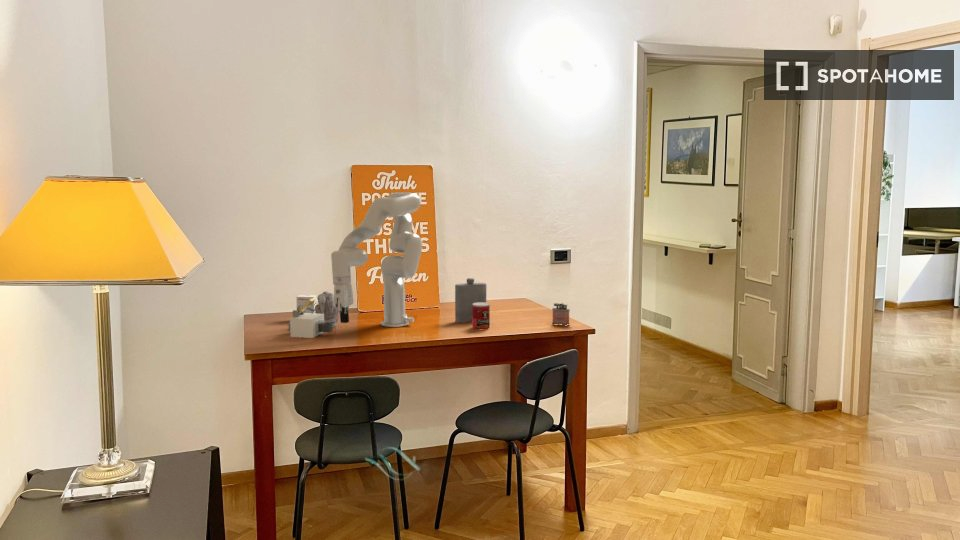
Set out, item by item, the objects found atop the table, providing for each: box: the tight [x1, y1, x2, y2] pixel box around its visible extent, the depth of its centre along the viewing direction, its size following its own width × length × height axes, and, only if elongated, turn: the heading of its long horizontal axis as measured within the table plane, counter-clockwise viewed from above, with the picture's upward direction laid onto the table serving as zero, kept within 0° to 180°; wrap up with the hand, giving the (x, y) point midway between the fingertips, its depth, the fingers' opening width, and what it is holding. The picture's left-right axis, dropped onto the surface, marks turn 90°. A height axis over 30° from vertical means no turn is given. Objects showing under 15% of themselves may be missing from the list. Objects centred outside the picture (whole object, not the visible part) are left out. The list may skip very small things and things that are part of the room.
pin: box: [287, 320, 333, 335], centre depth 319 cm, size 19×6×5 cm, turn 78°
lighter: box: [551, 302, 571, 325], centre depth 338 cm, size 8×3×10 cm, turn 65°
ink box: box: [296, 294, 318, 313], centre depth 348 cm, size 9×5×12 cm, turn 84°
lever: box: [298, 298, 315, 315], centre depth 319 cm, size 10×4×2 cm
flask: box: [454, 277, 487, 324], centre depth 346 cm, size 15×6×20 cm, turn 109°
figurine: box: [315, 291, 339, 329], centre depth 336 cm, size 10×11×15 cm
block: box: [289, 308, 324, 339], centre depth 319 cm, size 10×12×11 cm
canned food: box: [471, 302, 491, 330], centre depth 332 cm, size 8×8×11 cm
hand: (344, 322), depth 317 cm, fingers closed
